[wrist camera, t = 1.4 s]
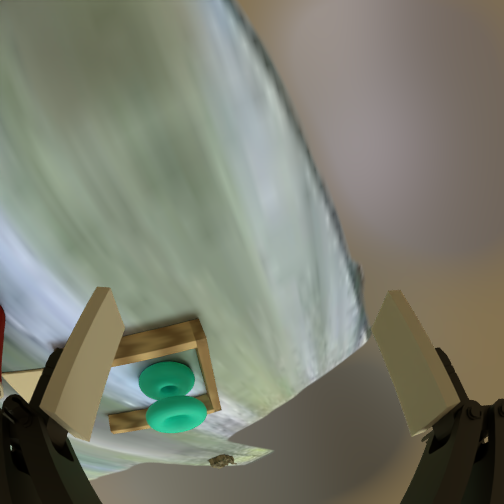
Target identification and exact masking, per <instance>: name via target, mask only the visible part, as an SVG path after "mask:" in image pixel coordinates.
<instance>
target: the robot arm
mask: <svg viewBox="0 0 504 504" xmlns="http://www.w3.org/2000/svg"><path fill="white" fill-rule="evenodd" d="M124 330H125V326H124V324H123V321H122V319H121V316H120V313H119V311H118V308H117V305H116V302H115V299H114V297H113V294H112V291H111V288H107V287H97V288H96V290H95V291H94V293H93V295H92V296H91V298H90V300H89V302H88V303H87V305H86V307H85V309H84V311H83V312H82V314H81V316H80V318H79V320H78V322H77V324H76V326H75V327H74V329H73V331H72V333H71V335H70V337H69V339H68V341H67V343H66V345H65V347H64V349H61V348H57V349H56V350H55V351H54V352H53V353H52V354H51V355H50V356H49V358H48V361H47V363H46V365H45V367H44V369H43V371H42V375H41V376H40V378H39V380H38V383H37V385H36V388H35V390H34V392H33V395H32V397H31V400H30V402H29V404H28V403H27V402H26V401H25V400H24V399H23V398H22V397H21V396H20V395H17V394H13V395H10V396H8V397H7V398H6V399H5V401H4V402H3V406H2V409H1V408H0V504H102V502H101V501H100V499H99V498H98V496H97V494H96V493H95V491H94V489H93V487H92V486H91V484H90V482H89V480H88V478H87V476H86V474H85V473H84V471H83V469H82V467H81V465H80V463H79V460H78V458H77V456H76V454H75V452H74V450H73V447H72V445H71V443H70V440H69V439H68V437H67V433H68V432H69V433H70V434H72V435H73V436H74V437H76V438H79V439H82V440H85V441H88V442H89V441H90V437H91V433H92V429H93V425H94V422H95V418H96V414H97V411H98V407H99V404H100V400H101V397H102V394H103V390H104V387H105V384H106V381H107V378H108V375H109V372H110V369H111V366H112V363H113V360H114V357H115V354H116V351H117V349H118V346H119V343H120V340H121V338H122V335H123V332H124ZM371 331H372V333H373V335H374V337H375V340H376V342H377V344H378V347H379V349H380V352H381V354H382V357H383V359H384V362H385V364H386V367H387V369H388V372H389V374H390V377H391V380H392V382H393V385H394V387H395V390H396V393H397V395H398V398H399V401H400V404H401V407H402V410H403V412H404V416H405V418H406V421H407V425H408V427H409V430H410V434H411V436H415V435H417V434H420V433H423V432H425V431H426V430H428V429H429V428H430V427H431V426H432V427H433V430H432V431H431V432H430V433H429V434H427V435H426V436H425V437H423V439H422V442H423V441H425V440H426V439H428V438H429V439H428V441H427V442H426V443H427V445H426V448H425V450H424V453H423V455H422V458H421V460H420V463H419V465H418V467H417V470H416V472H415V474H414V477H413V479H412V481H411V483H410V485H409V487H408V489H407V491H406V493H405V495H404V497H403V499H402V501H401V503H400V504H504V399H498V400H497V401H496V402H495V403H494V404H493V405H486V406H481V405H480V404H479V403H478V402H476V401H474V400H469V398H468V397H467V395H466V393H465V390H464V388H463V386H462V384H461V382H460V380H459V378H458V376H457V374H456V373H455V370H454V368H453V366H451V362H450V360H449V358H448V356H447V355H446V354H445V353H444V352H443V351H442V350H441V349H440V348H434V346H433V344H432V343H431V341H430V339H429V337H428V335H427V334H426V332H425V330H424V328H423V327H422V325H421V323H420V321H419V320H418V318H417V316H416V315H415V313H414V311H413V310H412V308H411V306H410V305H409V303H408V301H407V300H406V298H405V297H404V295H403V294H402V292H401V290H393V291H388V292H387V295H386V297H385V299H384V302H383V304H382V306H381V309H380V311H379V313H378V315H377V317H376V320H375V322H374V324H373V326H372V328H371ZM487 436H488V442H487V443H484V439H485V438H486V437H487ZM10 445H11V446H12V450H11V449H10Z"/></svg>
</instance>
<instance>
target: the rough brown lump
mask: <svg viewBox="0 0 504 504" xmlns="http://www.w3.org/2000/svg"><path fill="white" fill-rule="evenodd" d="M223 460H224V461H223ZM209 462H210V465H211V467H214V468H219V469H220V468H222V467H224V466H225V465H227V466H228V463H231V464H237V463H234V458H233V457H232V456H230V457H229V456H225V455H219V456H218V457H216V458H212V459H210V460H209Z"/></svg>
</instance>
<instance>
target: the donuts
mask: <svg viewBox="0 0 504 504" xmlns="http://www.w3.org/2000/svg"><path fill="white" fill-rule="evenodd" d="M194 382H195V377H194V374H193V372H192V370H191V369H190V368H189V367H187V366H186V365H184V364H181V363H178V362H160V363H156V364H153V365H151V366H149V367H148V368H146V369H145V370H144V371H143V372H142V373H141V375H140V377H139V387H140V389H141V391H142V392H143V393H144V394H145V395H146V396H148V397H150V398H152V399H155V400H158V401H156V402H155V403H153V404H152V405H151V406H150V407H149V408H148V410H147V412H146V421H147V423H148V425H149V426H150V427H151V428H153V429H154V430H157V431H159V432H164V433H179V432H184V431H187V430H190V429H193V428H195V427H197V426H198V425H200V424H201V423H202V422H203V421H204V420H205V418H206V416H207V409H206V407H205V405H204V404H203V403H202V402H201V401H200V400H198V399H196V398H194V397H190V396H184V395H186V394H187V393H188V392H189V391H190V390H191V389H192V388H193V386H194Z"/></svg>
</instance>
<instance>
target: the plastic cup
mask: <svg viewBox="0 0 504 504" xmlns="http://www.w3.org/2000/svg"><path fill="white" fill-rule="evenodd" d="M4 329H5V314H4V310H3V309H2V307H1V306H0V399H1V398H2V397H3V396H4V394H3V385H2V379H1V375H2V372H1V364H2V351H3V341H4Z"/></svg>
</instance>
